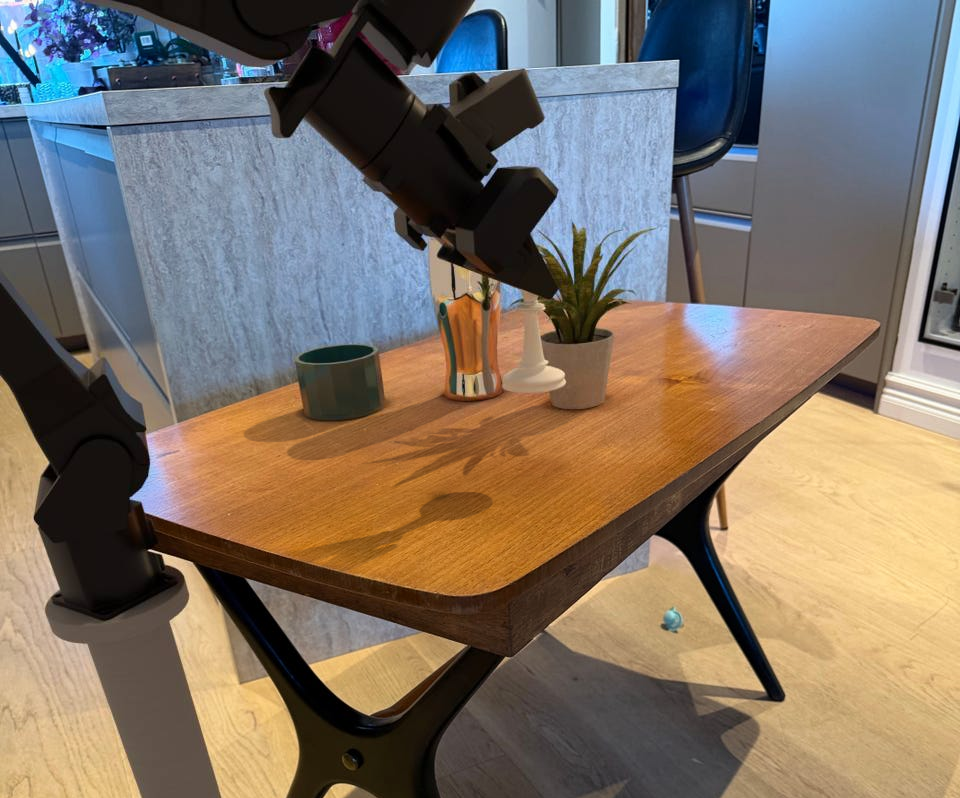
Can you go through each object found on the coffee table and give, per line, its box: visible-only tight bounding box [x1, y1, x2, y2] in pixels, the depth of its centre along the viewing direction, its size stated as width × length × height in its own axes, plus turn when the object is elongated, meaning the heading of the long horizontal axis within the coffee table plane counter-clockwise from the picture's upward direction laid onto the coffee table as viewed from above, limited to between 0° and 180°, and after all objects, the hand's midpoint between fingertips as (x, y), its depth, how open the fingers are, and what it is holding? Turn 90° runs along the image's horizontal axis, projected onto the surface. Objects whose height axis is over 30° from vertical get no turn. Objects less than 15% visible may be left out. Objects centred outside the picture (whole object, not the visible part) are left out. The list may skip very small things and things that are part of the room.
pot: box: [293, 343, 386, 422], centre depth 90 cm, size 8×8×6 cm
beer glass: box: [427, 237, 504, 402], centre depth 89 cm, size 7×7×15 cm
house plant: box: [507, 221, 658, 410], centre depth 84 cm, size 14×14×16 cm
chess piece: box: [501, 289, 566, 394], centre depth 66 cm, size 5×5×10 cm
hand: (547, 292), depth 66 cm, fingers closed on chess piece
